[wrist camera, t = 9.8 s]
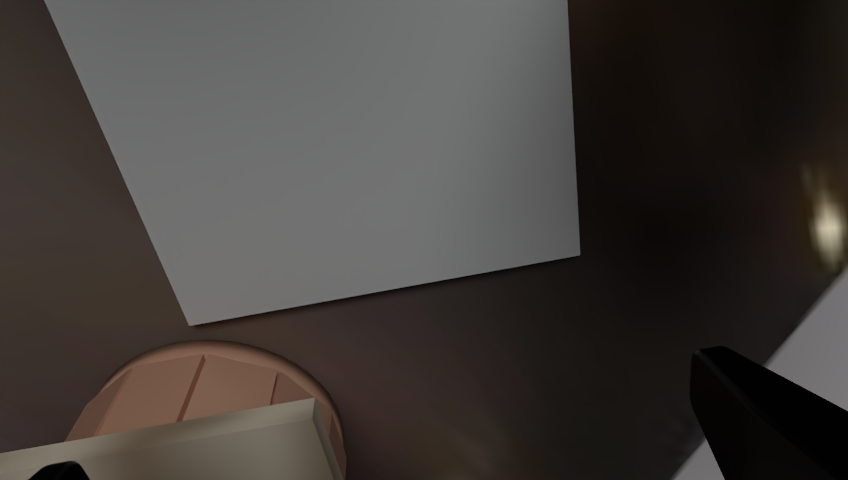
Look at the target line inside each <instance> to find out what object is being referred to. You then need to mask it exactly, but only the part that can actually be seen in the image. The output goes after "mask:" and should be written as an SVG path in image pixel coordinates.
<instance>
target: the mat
mask: <svg viewBox="0 0 848 480" xmlns="http://www.w3.org/2000/svg"><path fill="white" fill-rule="evenodd" d="M44 1H45V3H46V5H47V8H48V10H49V12H50V14H51V17H52V19H53V21H54V23H55V26H56V28H57V30H58V32H59V34H60V37H61V39H62V41H63V43H64V46H65V48H66V50H67V52H68V55H69V57H70V59H71V61H72V64H73V66H74V68H75V70H76V73H77V75H78V77H79V79H80V82H81V84H82V86H83V88H84V91H85V93H86V95H87V97H88V100H89V102H90V104H91V106H92V109H93V111H94V113H95V115H96V118H97V120H98V122H99V124H100V126H101V129H102V131H103V133H104V135H105V138H106V140H107V142H108V144H109V147H110V149H111V151H112V153H113V156H114V158H115V160H116V162H117V165H118V167H119V169H120V171H121V174H122V176H123V178H124V180H125V183H126V185H127V187H128V189H129V192H130V194H131V196H132V198H133V201H134V203H135V205H136V207H137V210H138V212H139V214H140V216H141V218H142V221H143V223H144V225H145V227H146V230H147V232H148V234H149V236H150V239H151V241H152V243H153V245H154V248H155V250H156V252H157V254H158V257H159V259H160V261H161V263H162V266H163V268H164V270H165V272H166V275H167V277H168V279H169V281H170V284H171V286H172V288H173V290H174V293H175V295H176V297H177V299H178V302H179V304H180V306H181V308H182V310H183V313H184V315H185V317H186V319H187V322H188V324H189V326H192V325H198V324H203V323H209V322H214V321H220V320H225V319H231V318H236V317H242V316H247V315H253V314H258V313H264V312H269V311H275V310H281V309H286V308H292V307H297V306H303V305H308V304H314V303H319V302H325V301H330V300H336V299H341V298H347V297H352V296H358V295H363V294H369V293H374V292H380V291H386V290H391V289H397V288H402V287H408V286H413V285H419V284H424V283H430V282H435V281H441V280H446V279H452V278H457V277H463V276H468V275H474V274H480V273H485V272H491V271H496V270H502V269H507V268H513V267H518V266H524V265H529V264H535V263H540V262H546V261H551V260H557V259H562V258H568V257H573V256H579V255H580V239H579V220H578V200H577V181H576V161H575V142H574V122H573V102H572V83H571V63H570V44H569V24H568V5H567V0H44Z"/></svg>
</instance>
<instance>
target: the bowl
mask: <svg viewBox="0 0 848 480" xmlns="http://www.w3.org/2000/svg"><path fill="white" fill-rule="evenodd" d="M310 398H315V399H316V402H317V405H318V408H319V411H320V414H321V417H322V419H323V422H324V425H325V428H326V431H327V434H328V437H329V440H330V443H331V446H332V448H333V451H334V454H335V457H336V460H337V463H338V466H339V469H340V472H341V475H342V477H343V480H345V476H346V458H347V457H346V454H345V451H344V448H343V446H344V431H343V424H342V420H341V416H340V414H339V411H338V409H337V406H336V404H335V403H334V401H333V400H332V398H331V396H330V395H329V393H328V392H327V391H326V390H325V389H324V387H323V386H322V385H321V384H320V383H319V382H318V381H317V380H316V379H315V378H314V377H313V376H312V375H310V374H309V373H308V372H307V371H305V370H304V369H302V368H301V367H299V366H298V365H297V364H295V363H293V362H291V361H289V360H288V359H286V358H284V357H282V356H280V355H277V354H275V353H272V352H270V351H268V350H265V349H262V348H258V347H255V346H251V345H247V344H242V343H237V342H231V341H220V340H193V341H185V342H177V343H173V344H169V345H164V346H160V347H158V348H155V349H152V350H149V351H147V352H144V353H142V354H140V355H139V356H137V357H135V358H133V359H131V360H129V361H128V362H127V363H125V364H124V365H122V366H121V367H120V368H118V369H117V370H116V371H115V372H114V373H113V374H112V375H111V376H110V377H109V378H108V380H107V381H106V383H105V384H104V385H103V387H102V388H101V390H100V391H99V393H98V395H97V396H96V397H95V398H94V399H92V400H91V401H90V402H89V403H88V404H87V405H86V407H85V408H84V410H83V412H82V413H81V415H80V417H79V418H78V420H77V422H76V423H75V425H74V427H73V428H72V430H71V432H70V433H69V435H68V437H67V438H66V440H65V442H68V441H74V440H79V439H85V438H90V437H96V436H102V435H107V434H113V433H119V432H124V431H130V430H135V429H141V428H147V427H152V426H158V425H164V424H169V423H175V422H180V421H186V420H192V419H197V418H203V417H209V416H214V415H220V414H225V413H231V412H237V411H242V410H248V409H254V408H259V407H265V406H270V405H276V404H282V403H287V402H293V401H299V400H304V399H310Z"/></svg>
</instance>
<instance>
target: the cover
mask: <svg viewBox="0 0 848 480" xmlns="http://www.w3.org/2000/svg"><path fill="white" fill-rule="evenodd" d="M66 461H75V462H77V463H79V464H80V465H81V466H82V467H83V469H84V471H85V472H86V474H87V475H88V477H89V478H90V480H343V477H342V475H341V472H340V469H339V466H338V463H337V460H336V457H335V454H334V451H333V448H332V446H331V443H330V440H329V437H328V434H327V431H326V428H325V425H324V422H323V419H322V417H321V414H320V411H319V408H318V405H317V402H316V399H315V398H310V399H304V400H299V401H293V402H287V403H282V404H276V405H270V406H265V407H259V408H254V409H248V410H242V411H237V412H231V413H225V414H220V415H214V416H209V417H203V418H197V419H192V420H186V421H180V422H175V423H169V424H164V425H158V426H152V427H147V428H141V429H135V430H130V431H124V432H119V433H113V434H107V435H102V436H96V437H90V438H85V439H79V440H74V441H68V442H62V443H57V444H51V445H45V446H40V447H34V448H29V449H23V450H17V451H12V452H6V453H0V480H28V479H29V478H30V477H32V476H33V475H34V474H35V473H36V472H38V471H39V470H40V469H41V468H43V467H44V466H47V465H50V464H55V463H60V462H66Z"/></svg>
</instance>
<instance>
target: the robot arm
mask: <svg viewBox="0 0 848 480" xmlns="http://www.w3.org/2000/svg"><path fill="white" fill-rule="evenodd" d="M690 400H691V404H692V408H693V410H694V413H695V415H696V417H697V419H698V421H699V424H700V426H701V428H702V430H703V432H704V435H705V437H706V439H707V441H708V443H709V446H710V448H711V450H712V452H713V454H714V457H715V459H716V461H717V463H718V466H719V468H720V470H721V472H722V474H723V476H724V479H725V480H848V411H846V410H844V409H843V408H840V407H839V406H837V405H835V404H833V403H831V402H829V401H827V400H826V399H823V398H822V397H820V396H818V395H816V394H814V393H812V392H810V391H809V390H807V389H805V388H803V387H801V386H799V385H797V384H795V383H793V382H791V381H790V380H788V379H786V378H784V377H782V376H780V375H778V374H776V373H774V372H772V371H771V370H769V369H767V368H765V367H763V366H761V365H759V364H757V363H756V362H754V361H752V360H750V359H748V358H746V357H744V356H742V355H740V354H739V353H737V352H735V351H733V350H731V349H729V348H727V347H724V346H716V347H711V348H705V349H699V350H697V351H695V352H694V353H693V355H692V360H691V376H690ZM28 480H90V478H89V477H88V475H87V474H86V472H85V471H84V469H83V467H82V466H81V465H80V464H79V463H77V462H75V461H66V462H60V463H55V464H50V465H47V466H44V467H43V468H41V469H40V470H39V471H38V472H36V473H35V474H34V475H33V476H32V477H30V478H29V479H28Z"/></svg>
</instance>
